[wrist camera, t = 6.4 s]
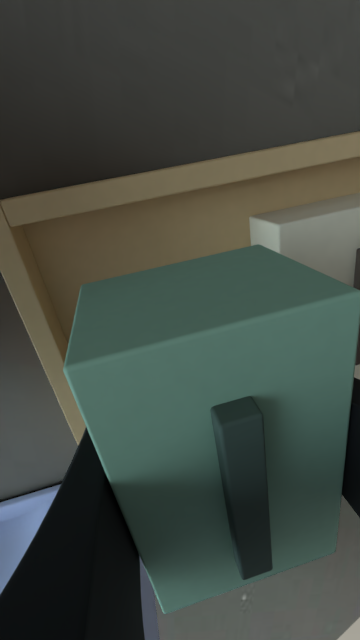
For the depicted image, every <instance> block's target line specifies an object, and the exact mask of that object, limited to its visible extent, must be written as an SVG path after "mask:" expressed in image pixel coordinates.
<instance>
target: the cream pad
mask: <svg viewBox="0 0 360 640" xmlns="http://www.w3.org/2000/svg"><path fill="white" fill-rule="evenodd" d="M249 223H250V238H251V246H253V245H257V244H259V245H262V246H264V247H266V248H269V249H271V250H273V251H275V252H277V253H279V254H282V255H284V256H286V257H288V258H290V259H293V260H295V261H297V262H299V263H301V264H303V265H306V266H308V267H310V268H312V269H314V270H316V271H319V272H321V273H323V274H325V275H327V276H330V277H332V278H334V279H336V280H338V281H340V282H343V283H345V284H347V285H349V286H351V287H354V288H356V289H358V290H360V192H359V193H355V194H350V195H345V196H341V197H336V198H332V199H327V200H322V201H318V202H313V203H309V204H304V205H299V206H295V207H290V208H285V209H281V210H276V211H272V212H267V213H262V214H258V215H253V216H250V217H249ZM354 377H355V378H357V379H359V380H360V325H359V335H358V344H357V353H356V363H355V372H354Z"/></svg>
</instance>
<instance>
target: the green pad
mask: <svg viewBox="0 0 360 640" xmlns="http://www.w3.org/2000/svg"><path fill="white" fill-rule="evenodd" d="M359 325H360V290H358V289H356V288H354V287H351V286H349V285H347V284H345V283H343V282H340V281H338V280H336V279H334V278H332V277H330V276H327V275H325V274H323V273H321V272H319V271H316V270H314V269H312V268H310V267H308V266H306V265H303V264H301V263H299V262H297V261H295V260H293V259H290V258H288V257H286V256H284V255H282V254H279V253H277V252H275V251H273V250H271V249H269V248H266V247H264V246H262V245H259V244H257V245H253V246H249V247H244V248H240V249H235V250H231V251H227V252H222V253H218V254H214V255H209V256H205V257H200V258H196V259H192V260H187V261H183V262H179V263H174V264H170V265H165V266H161V267H157V268H152V269H148V270H144V271H139V272H135V273H130V274H126V275H122V276H117V277H113V278H109V279H104V280H100V281H95V282H91V283H87V284H83V285H81V288H80V292H79V297H78V302H77V306H76V311H75V316H74V321H73V325H72V330H71V335H70V339H69V344H68V349H67V353H66V358H65V363H64V368H63V372H64V374H65V377H66V379H67V381H68V384H69V386H70V389H71V391H72V393H73V396H74V398H75V401H76V403H77V405H78V408H79V410H80V413H81V415H82V418H83V420H84V422H85V425H86V427H87V430H88V432H89V434H90V437H91V439H92V442H93V444H94V447H95V449H96V451H97V454H98V456H99V459H100V461H101V463H102V466H103V468H104V471H105V473H106V476H107V478H108V480H109V483H110V485H111V488H112V490H113V492H114V495H115V497H116V500H117V502H118V505H119V507H120V509H121V512H122V514H123V517H124V519H125V521H126V524H127V526H128V529H129V531H130V534H131V536H132V538H133V541H134V543H135V546H136V548H137V550H138V553H139V555H140V558H141V560H142V562H143V565H144V567H145V570H146V572H147V575H148V577H149V579H150V582H151V584H152V587H153V589H154V591H155V594H156V596H157V599H158V601H159V604H160V606H161V608H162V611H163V613H164V614H167V613H170V612H173V611H175V610H178V609H181V608H184V607H186V606H189V605H192V604H195V603H197V602H200V601H203V600H206V599H208V598H211V597H214V596H217V595H220V594H222V593H225V592H228V591H231V590H233V589H236V588H239V587H242V586H244V585H247V584H250V583H253V582H255V581H258V580H261V579H264V578H266V577H269V576H272V575H275V574H277V573H280V572H283V571H286V570H288V569H291V568H294V567H297V566H299V565H302V564H305V563H308V562H310V561H313V560H316V559H319V558H321V557H324V556H327V555H330V554H332V553H334V552H335V551H336V543H337V533H338V524H339V514H340V505H341V495H342V486H343V476H344V467H345V457H346V448H347V439H348V429H349V420H350V410H351V401H352V391H353V382H354V372H355V363H356V353H357V344H358V335H359Z"/></svg>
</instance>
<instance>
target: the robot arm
mask: <svg viewBox="0 0 360 640" xmlns="http://www.w3.org/2000/svg"><path fill="white" fill-rule="evenodd" d="M342 495H343V496H344V498H345V499H346V500H347V502H348V503H349V504H350V506H351V507H352V508H353V509H354V511H355V512H356V513H357V515H358V516H359V517H360V380H359V379H357V378H355V377H354V382H353V391H352V401H351V410H350V420H349V429H348V439H347V448H346V457H345V467H344V476H343V486H342ZM0 640H160V638H159V630H158V621H157V613H156V604H155V596H154V589H153V587H152V584H151V582H150V579H149V577H148V575H147V572H146V570H145V567H144V565H143V562H142V560H141V558H140V555H139V553H138V550H137V548H136V546H135V543H134V541H133V538H132V536H131V534H130V531H129V529H128V526H127V524H126V521H125V519H124V517H123V514H122V512H121V509H120V507H119V505H118V502H117V500H116V497H115V495H114V492H113V490H112V488H111V485H110V483H109V480H108V478H107V476H106V473H105V471H104V468H103V466H102V463H101V461H100V459H99V456H98V454H97V451H96V449H95V447H94V444H93V442H92V439H91V437H90V434H89V432H88V430H87V427H86V428H85V431H84V433H83V436H82V438H81V441H80V443H79V446H78V448H77V450H76V453H75V455H74V457H73V460H72V462H71V464H70V466H69V468H68V470H67V473H66V475H65V477H64V479H63V481H62V483H61V484H59V485H56V486H53V487H50V488H46V489H43V490H40V491H36V492H33V493H30V494H26V495H23V496H20V497H16V498H13V499H10V500H6V501H3V502H0Z"/></svg>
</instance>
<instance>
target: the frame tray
mask: <svg viewBox="0 0 360 640" xmlns="http://www.w3.org/2000/svg"><path fill="white" fill-rule="evenodd" d="M359 192H360V131H356V132H351V133H346V134H341V135H335V136H330V137H325V138H320V139H314V140H309V141H304V142H299V143H294V144H288V145H283V146H278V147H273V148H267V149H262V150H257V151H252V152H246V153H241V154H236V155H231V156H225V157H220V158H215V159H210V160H205V161H199V162H194V163H189V164H184V165H178V166H173V167H168V168H163V169H157V170H152V171H147V172H142V173H136V174H131V175H126V176H121V177H115V178H110V179H105V180H100V181H95V182H89V183H84V184H79V185H74V186H68V187H63V188H58V189H53V190H47V191H42V192H37V193H32V194H26V195H21V196H16V197H11V198H6V199H0V271H1V274H2V276H3V278H4V280H5V283H6V285H7V287H8V289H9V292H10V294H11V296H12V298H13V301H14V303H15V305H16V307H17V310H18V312H19V314H20V316H21V318H22V321H23V323H24V325H25V327H26V330H27V332H28V334H29V336H30V339H31V341H32V343H33V345H34V348H35V350H36V352H37V354H38V357H39V359H40V361H41V363H42V366H43V368H44V370H45V372H46V375H47V377H48V379H49V381H50V383H51V386H52V388H53V390H54V392H55V395H56V397H57V399H58V401H59V404H60V406H61V408H62V410H63V413H64V415H65V417H66V419H67V422H68V424H69V426H70V428H71V431H72V433H73V435H74V437H75V440H76V442H77V444H78V446H79V443H80V441H81V438H82V436H83V433H84V431H85V428H86V425H85V422H84V420H83V418H82V415H81V413H80V410H79V408H78V405H77V403H76V401H75V398H74V396H73V393H72V391H71V389H70V386H69V384H68V381H67V379H66V377H65V374H64V372H63V368H64V363H65V358H66V353H67V349H68V344H69V339H70V335H71V330H72V325H73V321H74V316H75V311H76V306H77V302H78V297H79V292H80V288H81V285H83V284H87V283H91V282H95V281H100V280H104V279H109V278H113V277H117V276H122V275H126V274H130V273H135V272H139V271H144V270H148V269H152V268H157V267H161V266H165V265H170V264H174V263H179V262H183V261H187V260H192V259H196V258H200V257H205V256H209V255H214V254H218V253H222V252H227V251H231V250H235V249H240V248H244V247H249V246H251V238H250V223H249V217H250V216H253V215H258V214H262V213H267V212H272V211H276V210H281V209H285V208H290V207H295V206H299V205H304V204H309V203H313V202H318V201H322V200H327V199H332V198H336V197H341V196H345V195H350V194H355V193H359Z"/></svg>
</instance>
